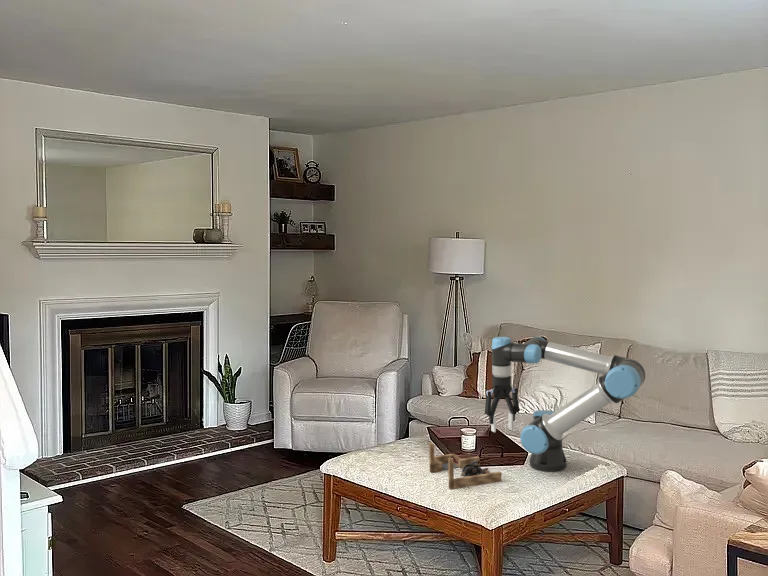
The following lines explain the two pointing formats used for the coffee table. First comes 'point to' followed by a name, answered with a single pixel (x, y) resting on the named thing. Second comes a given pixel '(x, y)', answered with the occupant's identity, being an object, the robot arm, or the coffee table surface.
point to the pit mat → (445, 466)
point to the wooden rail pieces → (463, 481)
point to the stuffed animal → (473, 469)
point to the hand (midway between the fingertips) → (502, 430)
